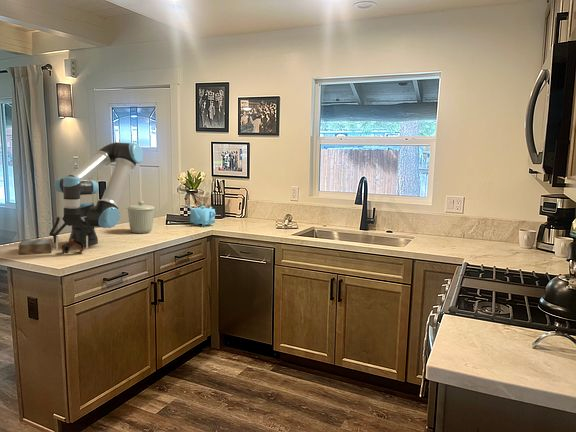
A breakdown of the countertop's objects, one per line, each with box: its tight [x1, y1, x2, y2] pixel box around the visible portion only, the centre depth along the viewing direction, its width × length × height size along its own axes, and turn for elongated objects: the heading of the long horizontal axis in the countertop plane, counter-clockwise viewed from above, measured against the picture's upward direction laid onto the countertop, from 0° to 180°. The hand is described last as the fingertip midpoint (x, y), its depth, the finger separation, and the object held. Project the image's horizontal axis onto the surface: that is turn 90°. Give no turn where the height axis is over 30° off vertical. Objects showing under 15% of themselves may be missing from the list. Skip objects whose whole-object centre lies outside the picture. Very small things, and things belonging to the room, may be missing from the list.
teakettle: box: [188, 205, 217, 227], centre depth 318 cm, size 19×19×15 cm
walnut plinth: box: [18, 238, 54, 256], centre depth 218 cm, size 14×14×5 cm
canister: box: [126, 200, 156, 234], centre depth 280 cm, size 18×18×21 cm
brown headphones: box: [61, 239, 85, 255], centre depth 216 cm, size 12×10×8 cm
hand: (72, 248), depth 215 cm, fingers open, 13 cm apart
